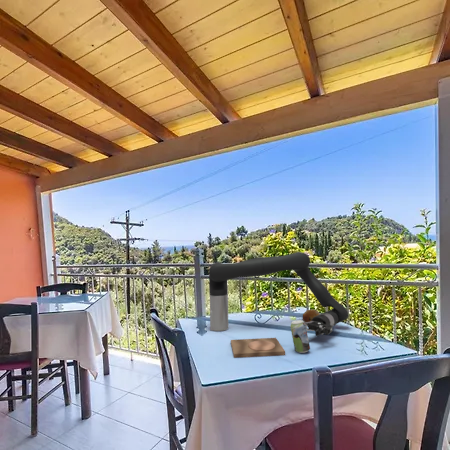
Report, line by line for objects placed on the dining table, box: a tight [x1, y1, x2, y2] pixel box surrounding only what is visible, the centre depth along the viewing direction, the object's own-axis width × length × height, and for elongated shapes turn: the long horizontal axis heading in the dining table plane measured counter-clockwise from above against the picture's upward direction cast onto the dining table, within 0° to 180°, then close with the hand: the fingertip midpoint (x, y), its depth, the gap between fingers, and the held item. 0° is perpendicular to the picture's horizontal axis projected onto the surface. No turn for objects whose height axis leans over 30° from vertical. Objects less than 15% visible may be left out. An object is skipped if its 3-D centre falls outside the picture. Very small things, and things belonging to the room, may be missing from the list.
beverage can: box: [289, 319, 311, 354], centre depth 122 cm, size 6×7×12 cm
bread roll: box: [302, 308, 321, 322], centre depth 164 cm, size 10×10×8 cm
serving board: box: [230, 337, 286, 359], centre depth 126 cm, size 20×16×2 cm
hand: (306, 331), depth 127 cm, fingers open, 8 cm apart
